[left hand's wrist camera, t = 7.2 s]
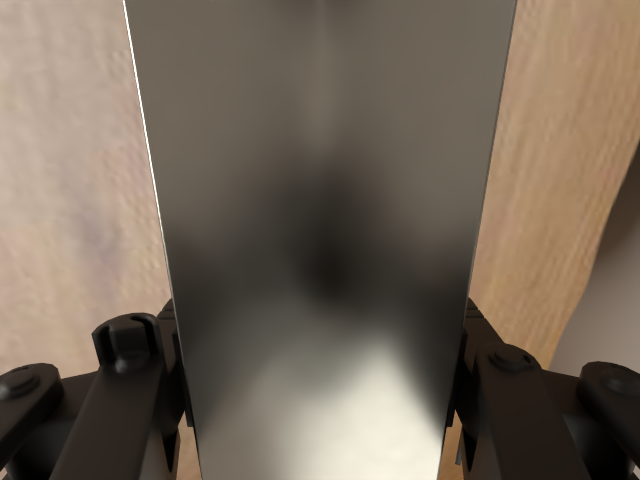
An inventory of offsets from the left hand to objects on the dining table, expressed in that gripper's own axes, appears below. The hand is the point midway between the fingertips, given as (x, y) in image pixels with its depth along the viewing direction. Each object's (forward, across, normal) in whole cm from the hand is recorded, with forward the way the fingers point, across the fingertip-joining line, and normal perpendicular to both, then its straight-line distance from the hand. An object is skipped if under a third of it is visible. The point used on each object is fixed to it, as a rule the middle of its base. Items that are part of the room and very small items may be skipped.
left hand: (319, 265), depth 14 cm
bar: (+1, 0, -8) cm, 8 cm away
